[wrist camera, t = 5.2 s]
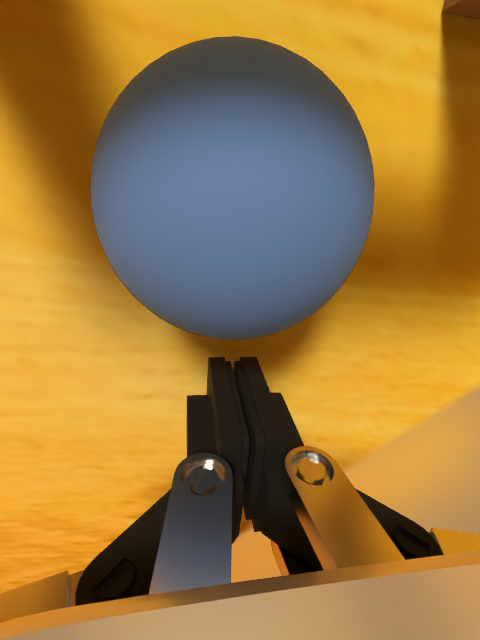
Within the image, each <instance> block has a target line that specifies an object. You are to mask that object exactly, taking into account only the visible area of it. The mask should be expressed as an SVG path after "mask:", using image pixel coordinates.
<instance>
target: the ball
mask: <svg viewBox="0 0 480 640" xmlns="http://www.w3.org/2000/svg"><path fill="white" fill-rule="evenodd" d="M90 194H91V206H92V213H93V218H94V222H95V226H96V230H97V235H98V238H99V240H100V243H101V245H102V248H103V250H104V253H105V255H106V257H107V259H108V261H109V263H110V265H111V266H112V268H113V270H114V272H115V273H116V275H117V276H118V278H119V279H120V280H121V281H122V283H123V284H124V285H125V286H126V288H127V289H128V290H129V291H130V293H131V294H132V295H133V296H134V297H135V298H136V299H137V300H138V301H139V302H140V303H141V304H142V305H144V306H145V307H146V308H147V309H149V310H150V311H151V312H152V313H154V314H155V315H157V316H158V317H159V318H161V319H163V320H165V321H166V322H168V323H170V324H172V325H174V326H176V327H178V328H180V329H183V330H185V331H188V332H190V333H194V334H197V335H201V336H206V337H212V338H218V339H231V340H239V339H250V338H256V337H261V336H266V335H270V334H273V333H276V332H279V331H282V330H284V329H286V328H289V327H291V326H293V325H295V324H297V323H299V322H301V321H302V320H304V319H306V318H307V317H309V316H310V315H311V314H313V313H314V312H316V311H317V310H318V309H319V308H320V307H322V306H323V305H324V304H325V303H326V302H327V301H328V300H329V299H330V298H331V297H332V296H333V295H334V294H335V293H336V292H337V291H338V290H339V288H340V287H341V286H342V285H343V283H344V282H345V281H346V279H347V277H348V276H349V274H350V273H351V271H352V269H353V268H354V266H355V264H356V263H357V260H358V258H359V256H360V254H361V252H362V250H363V247H364V244H365V241H366V238H367V235H368V232H369V228H370V224H371V219H372V214H373V202H374V174H373V165H372V160H371V155H370V151H369V147H368V143H367V139H366V136H365V134H364V132H363V129H362V127H361V125H360V122H359V120H358V118H357V116H356V114H355V112H354V110H353V108H352V107H351V105H350V104H349V102H348V101H347V99H346V97H345V96H344V94H343V93H342V92H341V91H340V90H339V89H338V88H337V87H336V85H335V84H334V83H333V82H332V81H331V80H330V79H329V78H328V77H327V76H326V75H325V74H324V72H323V71H321V70H320V69H319V68H317V67H316V66H315V65H313V64H312V63H311V62H309V61H308V60H307V59H305V58H303V57H301V56H299V55H298V54H296V53H294V52H292V51H290V50H288V49H286V48H284V47H282V46H279V45H276V44H273V43H270V42H266V41H263V40H260V39H254V38H246V37H237V36H234V37H215V38H210V39H205V40H201V41H196V42H192V43H189V44H187V45H184V46H182V47H179V48H177V49H175V50H172V51H170V52H168V53H166V54H165V55H163V56H162V57H160V58H158V59H157V60H155V61H154V62H152V63H150V64H149V65H148V66H147V67H146V68H145V69H143V70H142V71H141V72H140V73H139V74H138V75H137V76H135V77H134V78H133V79H132V80H131V82H130V83H129V84H128V85H127V86H126V88H125V89H124V90H123V91H122V92H121V94H120V95H119V96H118V98H117V100H116V101H115V103H114V105H113V106H112V108H111V110H110V111H109V113H108V115H107V117H106V119H105V122H104V124H103V127H102V129H101V132H100V134H99V137H98V139H97V142H96V147H95V151H94V156H93V160H92V172H91V186H90Z"/></svg>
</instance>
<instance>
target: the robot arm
mask: <svg viewBox="0 0 480 640" xmlns="http://www.w3.org/2000/svg"><path fill="white" fill-rule="evenodd" d="M242 508H244V514H245V518H246V520H250V519H252V523H253V528H254V531H255V532H258V531H261V532H262V534H264V535H265V536H267V537H268V538H269V539H271V546H272V551H273V554H274V556H275V559H276V562H277V564H278V567H279V569H280V572H281V575H282V576H280V577H272V578H265V579H258V580H250V581H243V582H236V583H231V545H232V544H233V542H234V541H235V540H236V538H237V537H238V536H239V528H240V520H241V516H242ZM0 640H480V534H474V533H467V532H459V531H452V530H443V529H437V528H432V529H431V531H430V532H427V531H426V530H425V529H424V528H422V527H421V526H420V525H418V524H417V523H415V522H414V521H412V520H410V519H408V518H406V517H405V516H403V515H401V514H399V513H398V512H396V511H394V510H392V509H391V508H388V507H387V506H385V505H383V504H382V503H380V502H378V501H376V500H375V499H373V498H371V497H369V496H367V495H366V494H364V493H362V492H361V491H359V490H357V489H355V488H354V487H353V485H352V484H351V482H350V481H349V480H348V478H347V477H346V475H345V474H344V472H343V471H342V470H341V468H340V467H339V465H338V464H337V463H336V461H335V460H334V459H333V458H332V457H331V456H330V455H329V454H327V453H326V452H324V451H322V450H320V449H318V448H315V447H309V446H304V444H303V442H302V440H301V437H300V435H299V433H298V430H297V428H296V426H295V424H294V421H293V419H292V417H291V415H290V412H289V410H288V408H287V405H286V403H285V401H284V399H283V396H282V395H281V393H270V391H269V388H268V386H267V383H266V380H265V378H264V375H263V373H262V370H261V368H260V365H259V362H258V360H257V358H256V357H240V360H239V361H235V362H234V370H233V369H232V365H231V362H230V361H225V358H224V357H209V358H208V378H207V395H192V396H187V458H185V459H184V460H183V461H182V462H181V463H180V464H179V465H178V466H177V469H176V471H175V473H174V478H173V483H172V487H171V490H169V491H168V492H167V493H166V494H165V495H164V496H163V497H162V498H161V499H160V500H158V501H157V502H156V503H155V504H154V505H153V506H152V507H151V508H150V509H148V510H147V511H146V512H145V513H144V514H143V515H142V516H141V517H140V518H139V519H137V520H136V521H135V522H134V523H133V524H132V525H131V526H130V527H129V528H128V529H126V530H125V531H124V532H123V533H122V534H121V535H120V536H119V537H118V538H116V539H115V540H114V541H113V542H112V543H111V544H110V545H109V546H108V547H107V548H105V549H104V550H103V551H102V552H101V553H100V554H99V555H98V556H97V557H96V558H94V560H93V561H92V562H91V563H90V564H89V565H88V566H87V567H86V569H85V570H83V571H80V572H77V573H74V574H71V575H69V573H68V571H65V572H62V573H59V574H56V575H53V576H51V577H48V578H45V579H42V580H39V581H36V582H33V583H30V584H27V585H24V586H22V587H19V588H16V589H13V590H10V591H7V592H4V593H1V594H0Z"/></svg>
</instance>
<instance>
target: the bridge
mask: <svg viewBox="0 0 480 640" xmlns="http://www.w3.org/2000/svg"><path fill="white" fill-rule="evenodd" d="M442 12H446V13H451V14H456V15H461V16H466V17H471V18H476V19H480V0H445V3H444V7H443V11H442Z"/></svg>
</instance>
